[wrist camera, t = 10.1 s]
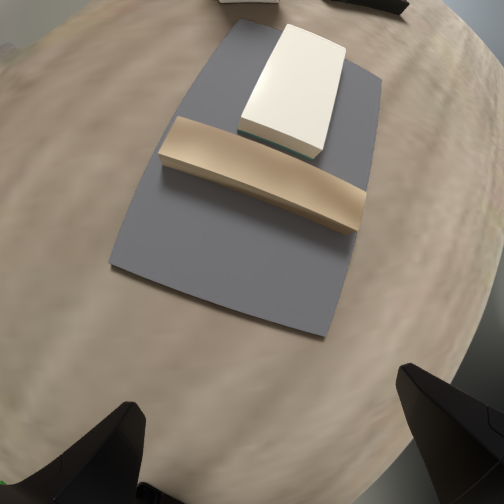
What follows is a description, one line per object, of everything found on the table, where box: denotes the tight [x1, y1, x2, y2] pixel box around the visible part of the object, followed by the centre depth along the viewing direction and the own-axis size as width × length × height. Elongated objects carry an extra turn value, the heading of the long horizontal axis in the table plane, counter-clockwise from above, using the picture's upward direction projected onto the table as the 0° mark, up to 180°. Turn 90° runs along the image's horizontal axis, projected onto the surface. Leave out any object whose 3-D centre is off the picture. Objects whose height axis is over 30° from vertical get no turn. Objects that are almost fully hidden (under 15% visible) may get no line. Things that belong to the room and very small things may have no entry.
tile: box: [237, 24, 346, 160], centre depth 19 cm, size 2×6×13 cm
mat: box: [108, 18, 382, 337], centre depth 19 cm, size 26×16×1 cm, turn 161°
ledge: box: [158, 116, 367, 235], centre depth 18 cm, size 3×14×2 cm, turn 71°
